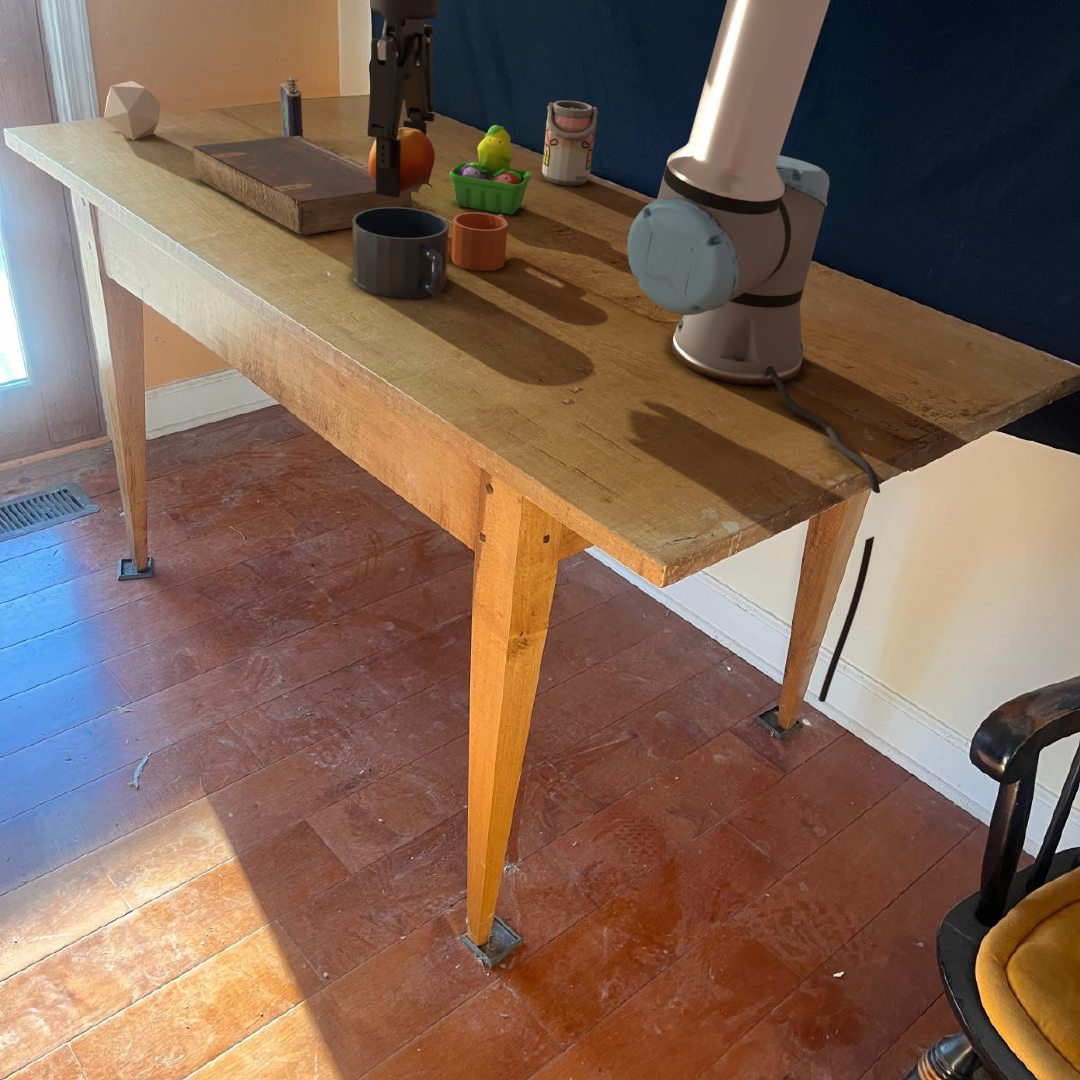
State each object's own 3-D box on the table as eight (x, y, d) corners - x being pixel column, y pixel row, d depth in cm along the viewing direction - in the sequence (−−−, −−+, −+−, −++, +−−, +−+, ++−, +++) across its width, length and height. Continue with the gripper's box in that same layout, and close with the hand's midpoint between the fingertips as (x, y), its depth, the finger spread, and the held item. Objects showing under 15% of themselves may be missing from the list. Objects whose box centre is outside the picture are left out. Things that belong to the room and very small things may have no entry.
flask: (280, 137, 181) (278, 71, 175) (297, 137, 182) (295, 72, 176) (289, 152, 174) (287, 84, 168) (307, 152, 175) (305, 85, 169)
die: (172, 144, 173) (171, 86, 174) (131, 124, 165) (130, 63, 166) (135, 154, 177) (133, 97, 177) (92, 135, 169) (91, 75, 169)
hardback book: (410, 217, 153) (411, 183, 150) (301, 238, 141) (300, 201, 138) (301, 164, 169) (300, 133, 166) (196, 179, 157) (192, 146, 155)
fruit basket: (446, 206, 158) (449, 130, 152) (463, 191, 165) (466, 117, 159) (517, 219, 157) (524, 142, 150) (531, 203, 164) (538, 129, 157)
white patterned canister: (590, 191, 172) (599, 115, 165) (540, 185, 172) (547, 110, 165) (589, 175, 180) (597, 102, 173) (541, 170, 179) (548, 97, 172)
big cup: (336, 270, 133) (335, 212, 129) (417, 258, 139) (418, 203, 135) (394, 315, 123) (395, 254, 119) (478, 300, 129) (482, 241, 125)
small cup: (489, 275, 137) (492, 234, 133) (442, 262, 139) (443, 222, 136) (522, 253, 144) (525, 214, 141) (476, 242, 147) (479, 203, 143)
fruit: (438, 191, 121) (406, 125, 117) (382, 216, 124) (349, 152, 120) (456, 173, 127) (426, 110, 124) (403, 198, 130) (372, 136, 127)
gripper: (406, -39, 121) (402, 159, 134) (333, -21, 104) (337, 203, 117) (467, -30, 120) (457, 169, 133) (403, -11, 103) (399, 215, 116)
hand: (401, 185), depth 125 cm, fingers closed on fruit, 8 cm apart
